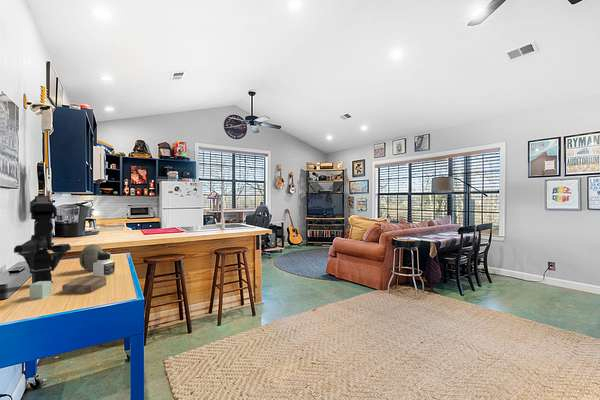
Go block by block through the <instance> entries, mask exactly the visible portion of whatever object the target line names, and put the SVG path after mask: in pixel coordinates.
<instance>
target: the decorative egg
mask: <svg viewBox="0 0 600 400" xmlns="http://www.w3.org/2000/svg"><path fill="white" fill-rule="evenodd" d="M100 253H105V252H104V250H103V249H102V248H101V247H100V246H99V245H97V244H88V245H86V246H85V247H84V248H83V249H82V250H81V252H80V254H79V258H78V259H79V265H80V267H81V268H83V269H84V270H85V271H88V272H89V271H90V272H91V271H92V272H93V263H96V262H98V261H97V255H98V254H100Z"/></svg>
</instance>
